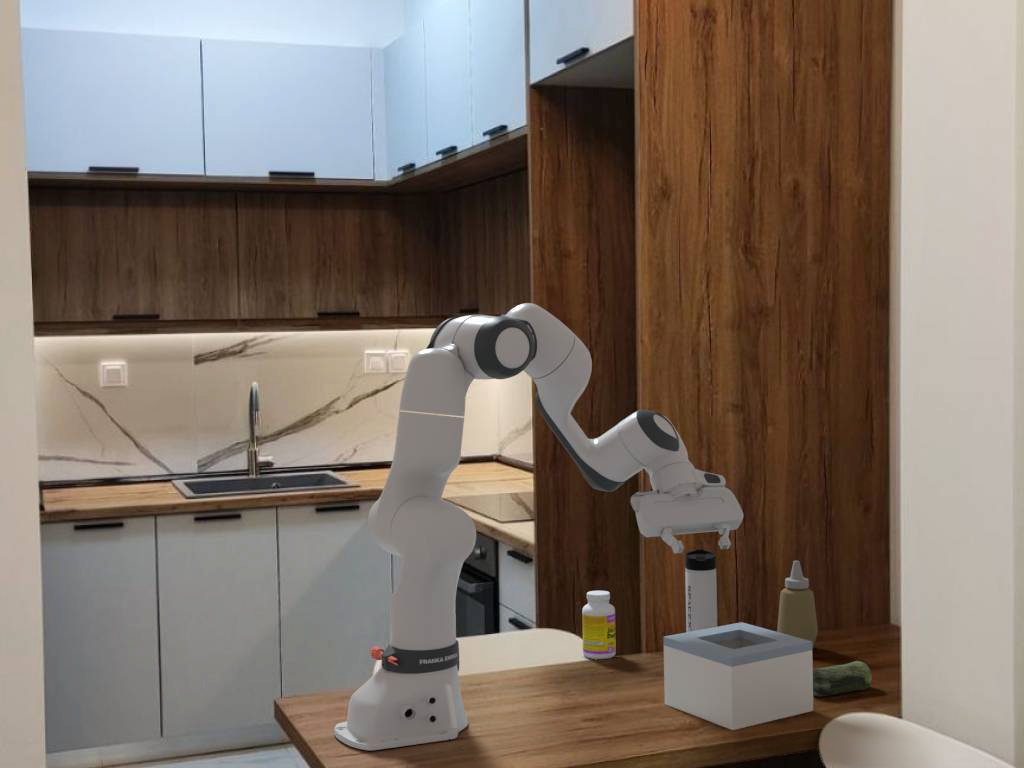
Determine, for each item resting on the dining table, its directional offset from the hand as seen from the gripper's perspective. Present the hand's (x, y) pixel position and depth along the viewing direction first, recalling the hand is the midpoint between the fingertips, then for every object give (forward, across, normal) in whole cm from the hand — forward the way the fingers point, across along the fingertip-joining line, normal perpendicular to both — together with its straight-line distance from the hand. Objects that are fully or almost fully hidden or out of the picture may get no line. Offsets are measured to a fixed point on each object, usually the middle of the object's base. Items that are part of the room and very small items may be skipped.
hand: (703, 549), depth 238 cm
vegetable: (+26, +21, +11) cm, 35 cm away
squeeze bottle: (+6, +30, +31) cm, 44 cm away
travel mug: (0, +13, +37) cm, 39 cm away
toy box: (+27, 0, +10) cm, 28 cm away
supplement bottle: (-3, -8, +40) cm, 41 cm away
